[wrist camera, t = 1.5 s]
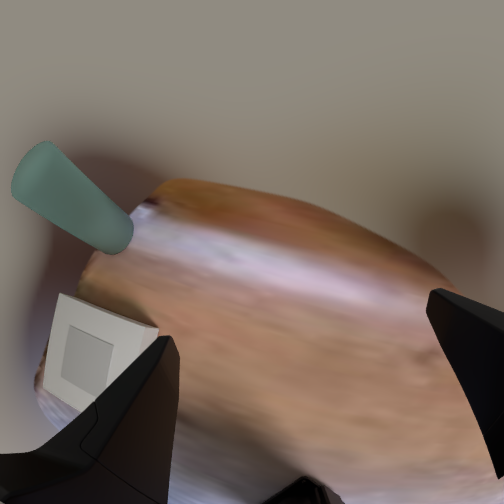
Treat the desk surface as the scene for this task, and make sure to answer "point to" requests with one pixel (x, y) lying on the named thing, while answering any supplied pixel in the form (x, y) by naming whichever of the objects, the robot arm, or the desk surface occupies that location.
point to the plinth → (90, 350)
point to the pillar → (70, 199)
